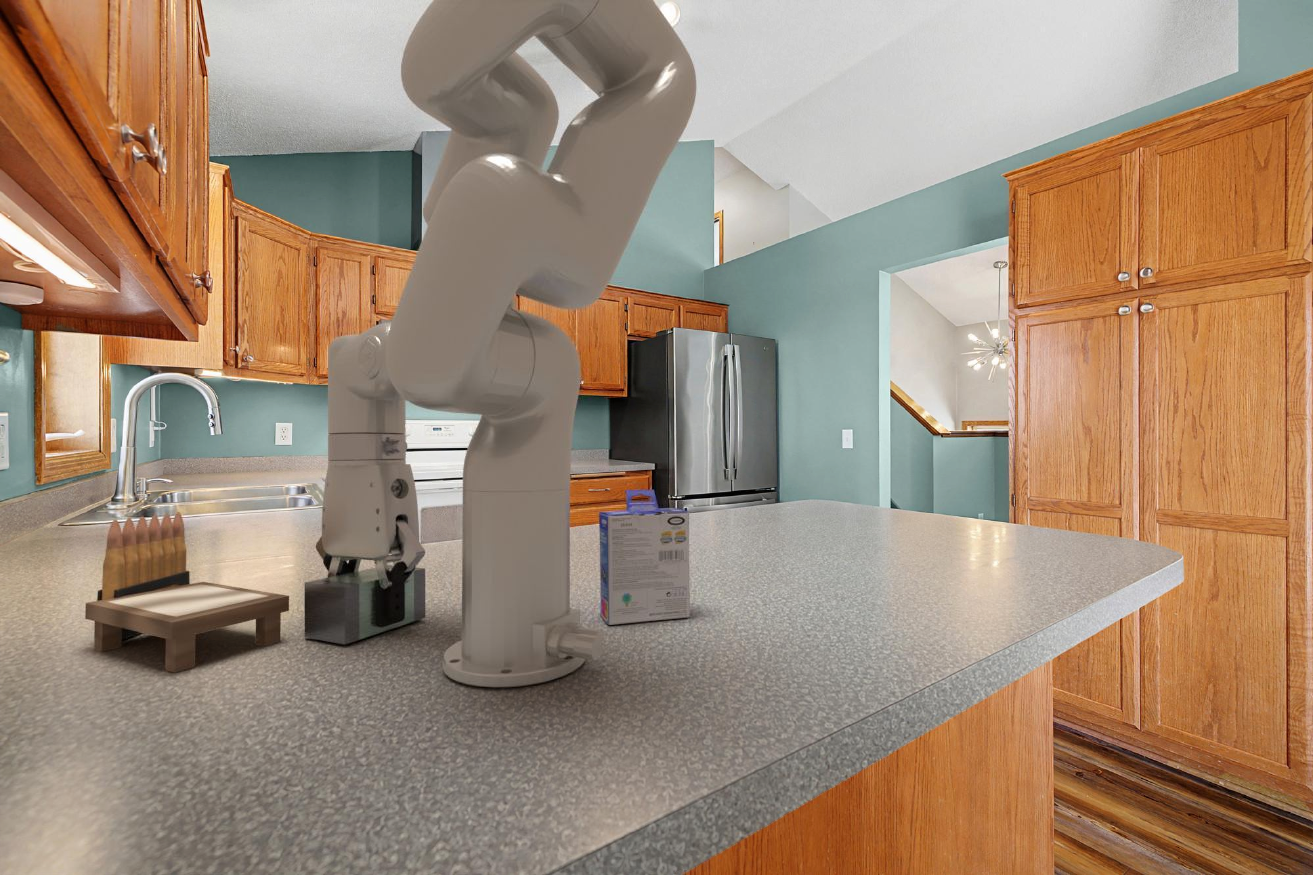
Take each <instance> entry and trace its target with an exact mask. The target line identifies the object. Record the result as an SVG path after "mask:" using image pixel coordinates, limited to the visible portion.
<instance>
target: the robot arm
mask: <svg viewBox="0 0 1313 875" xmlns="http://www.w3.org/2000/svg"><path fill="white" fill-rule="evenodd" d="M533 37H535V39H537V41H539V42H541V44H542V45H543V46H544V47H545V48H546V49H547V50H549V51H550V53H552V54H553V55H554V56H555V58H557V59H558V60H559V61H560V62H561V63H562V64H563V65H564V66H565V67H566V68H568V69H569V71H571V73H573V74H574V76H576V77H578V79H579V80H580V81H581V82H582V83H584V84H585V86H587V87H588V88H589V89H590V90H591V91H592V92H593V93H595V95H597V97H598V98H597V99H595V100H594V101H591V102H590V103H588V104H587V105H586V106H585V107H584V108H583V109H581V111H579V112H578V113H577V115H576V116H574V118H572V120H571V121H570V122H569V124H568V125H567V127H566V128H565V130H564V131H563V133H562V136H561V138H560V139H559V143H558V146H557V148H556V150H555V153H554V155H553V157H552V159H551V162H550V164H549V166H548V168H547V169H546V171H545V170H544V169H542V168H543V165H544V162H545V161H546V157H547V155H548V153H549V150H550V147H551V145H552V142H553V141H554V140H553V139H554V138H555V135H556V132H557V128H558V126H559V119H560V110H559V105H558V104H559V103H558V101H557V99H556V96H555V93H554V92H553V90H552V87H551V86H550V85H549V84H548V82H547V81H546V80H545V79H544V78H543V77H542V75H541V74H540V73H539V72H538V71H537V70H536V69H535V68H534V67H533V66H532V65H531V64H530V63H529V62H528V61H527V60H526V59H525V58H523V57H522V56H521V55H520V54H519V53H518V52H517V50H518V49H520V47H522V46H523V45H524V44H526V42H528V41H529V40H530V39H532V38H533ZM696 74H697V73H696V70H695V66H694V63H693V60H692V58H691V56H690V54H689V52H688V50H687V48H686V46H685V45H684V43H683V41H682V40H681V38H680V37H679V35H678V33H677V32H676V31H675V30H674V28H673V27H672V25H671V23H670V22H669V21H668V19H667V18H666V16H665V15H664V13H663V12H662V11H661V9H660V8H659V6H658V5H657V3H656V2H655V1H654V0H432V2H430V4H429V5H428V6H427V8H426V9H425V11H423V14H422V15H421V16H420V18H419V19H418V21H417V22H416V24H415V25H414V28H413V29H412V31H411V33H410V35H409V37H408V40H407V42H406V45H405V48H404V50H403V54H402V58H401V65H400V78H401V83H402V87H403V90H404V92H405V93H406V96H407V98H408V99H409V100H410V101H411V103H412V104H413V105H415V106H416V107H417V108H418V109H419V110H420V111H422V112H424V113H425V114H427V115H429V116H430V117H431V118H433V119H434V120H437V121H438V122H440V123H441V124H443V125H444V126H446V127H448V128H449V129H450V132H449V136H448V138H447V141H446V143H445V144H446V145H445V147H444V150H443V152H442V155H441V158H440V160H439V164H438V166H437V169H436V172H435V174H434V176H433V180H432V182H431V185H430V189H429V191H428V193H427V196H426V198H425V202H424V203H423V207H422V215H423V219H424V222H425V223H426V225H427V227H426V230H425V233H424V235H423V238H422V241H421V243H420V245H419V248H418V250H417V253H416V255H415V258H414V262H413V264H412V265H411V269H410V271H409V273H408V277H407V279H406V282H405V285H404V288H403V290H402V292H401V296H400V297H399V301H398V303H397V306H396V309H395V310H394V314H393V317H392V320H391V322H382V323H378V324H376V325H373V326H371V327H370V328H368V329H367V330H365V331H363V332H361V333H360V334H359V333H358V334H356V333H355V334H346V335H345V334H344V335H341V336H337V337H336V338H334V339H333V340H332V341H331V342H330V344H329V346H328V351H327V417H328V418H327V434H328V435H327V470H326V474H325V475H326V476H325V482H324V488H323V497H322V498H323V499H322V509H321V510H322V511H321V512H322V513H321V536H320V537H319V539H318V540H317V542H316V544H315V550H316V551H317V553H318V555H319V556H320V558H321V559H322V562H323V566H324V567H325V570H327V578H328V577H333V576H338V575H342V574H347V573H352V572H357V571H359V570H360V566H361V562H362V560H365V561H373V563H374V566H375V567H374V568H376V571H377V575H378V578H379V582H380V585H381V587H380V588H376V626H377V627H381V628H382V627H386V626H389V625H392V624H395V623H398V622H401V621H403V620H404V618H405V583H408V582H409V579H410V577H409V576H410V575H411V574H412V572H413V571H414V570H415V568H417V565H418V564H419V563H420V561H422V559H423V558H424V557H425V555H426V550H425V548H424V547H423V545H422V543H421V542H420V520H419V508H418V495H417V491H416V483H415V479H414V474H413V470H412V466H411V464H410V463H408V464H407V459H406V458H407V456H406V455H407V450H408V443H407V441H406V440H407V437H406V436H407V435H406V430H407V429H406V424H407V423H406V419H407V418H406V402H409V403H410V404H412V405H414V406H417V407H419V408H422V409H426V410H431V411H437V412H446V413H454V414H468V415H469V414H470V415H480V419H479V422H478V424H477V426H476V428H475V430H474V432H473V434H472V437H471V439H470V441H469V444H468V446H467V450H466V452H465V457H464V461H463V467H462V468H463V470H462V505H461V506H462V507H461V508H462V512H461V513H462V514H461V515H462V518H461V519H462V522H461V523H462V529H461V531H462V533H461V534H462V535H461V537H462V538H461V539H462V540H461V542H462V543H461V544H462V545H461V547H462V548H461V569H462V570H461V640H459V641H457V642H456V643H454V644H452V645H451V646H450V647H448V648H447V649H446V650H445V651H444V653H443V656H442V667H441V668H442V670H443V673H444V675H446V676H447V677H448V678H449V679H451V680H453V681H455V682H457V683H462V684H465V685H469V686H473V687H474V686H475V687H480V688H481V687H484V688H512V687H513V688H514V687H523V686H532V685H535V684H536V685H537V684H541V683H546V682H549V681H553V680H555V679H558V678H559V679H560V678H562V677H564V676H566V675H568V674H570V673H573V672H574V671H576V670H578V669H579V668H580V667H581V666H582V665H583V664H584V663H585V661H586V660H591V661H597V660H599V659H600V658H601V656H602V654H603V651H604V641H605V631H604V629H602V628H595V627H583V625H582V623H581V609H579V608H573V607H572V608H571V604H570V603H571V595H570V594H571V588H570V587H571V585H570V584H571V573H570V572H571V560H570V559H571V549H570V548H571V519H570V518H571V506H570V505H571V462H572V457H571V456H572V453H571V452H572V440H573V439H572V438H573V437H572V436H573V429H574V422H575V415H576V414H575V413H576V409H577V404H578V399H579V392H580V388H581V387H580V386H581V381H582V380H581V379H582V372H581V371H582V370H581V369H582V368H581V366H582V365H581V360H580V355H579V353H578V349H577V348H576V346H575V344H574V342H573V341H572V339H571V338H570V336H569V335H568V334H567V333H566V332H565V331H564V330H563V329H562V328H560V327H559V326H558V325H556V324H554V323H553V322H551V321H550V320H547V319H545V318H544V317H541V316H538V315H536V314H532V313H530V312H527V311H523V310H520V309H517V308H516V297H515V296H517V295H518V296H520V297H523V298H525V299H529V300H532V301H535V302H537V303H541V304H543V305H548V306H550V307H554V308H557V309H561V310H562V309H563V310H569V311H572V310H573V311H576V310H577V311H578V310H583V309H585V308H588V307H590V306H592V305H593V304H594V303H596V302H597V301H598V300H599V299H600V298H601V296H602V295H603V293H604V292H605V290H606V288H607V287H608V285H609V283H610V282H611V280H612V277H613V275H614V273H615V272H616V269H617V267H618V265H619V263H620V260H621V258H622V256H623V254H624V252H625V249H626V248H627V246H628V244H629V241H630V239H631V237H632V235H633V233H634V230H635V228H636V227H637V224H638V222H639V220H640V219H641V218H640V217H641V215H643V212H644V209H645V207H646V206H647V203H648V201H649V198H650V195H651V193H652V190H653V188H654V186H655V184H656V182H657V181H658V177H659V176H660V174H661V172H662V170H663V168H664V167H665V164H666V163H667V161H668V160H669V157H670V156H671V154H672V153H673V151H674V150H675V147H676V145H677V144H678V142H679V141H680V139H681V137H682V135H683V134H684V132H685V130H686V127H687V126H688V123H689V120H690V118H691V116H692V113H693V110H694V107H695V103H696V96H697V75H696ZM347 561H348V562H347ZM391 563H393V566H394V567H393V568H392V570H391V571H389V567H388V565H389V564H391Z"/></svg>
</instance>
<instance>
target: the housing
mask: <svg viewBox="0 0 1313 875" xmlns="http://www.w3.org/2000/svg"><path fill="white" fill-rule="evenodd" d="M388 567H389V571H391V570H392V568H393V567H394V564H393V565H390V564H388ZM409 577H410V579H409V582H408V583H405V618H404V620H403V621H401V622H398V623H395V624H392V625H389V626H386V627H382V628H381V627H377V626H376V588H380V587H381V585H380V582H379V578H378V575H377V571H376V567H370V568H366V569H362V570H358V571H357V572H352V573H347V574H342V575H338V576H333V577H328V576H327V577H325V578H324V577H323V578H319V579H315V580H311V581H306V582H304V638H307V639H312V640H318V641H323V642H329V643H334V644H340V645H347V644H350V643H353V642H354V643H355V642H357V641H359V640H362V639H365V638H368V637H372V636H375V635H378V634H380V633H384V632H386V631H389V630H391V629H392V630H393V629H395V628H398V627H403V626H404V625H407V624H411V623H414V622H416V621H419V620H422V619H425V618H426V568H425V567H424V568H423V567H416V568H415V570H414V571H413V572H412V574H411V575H410V576H409Z"/></svg>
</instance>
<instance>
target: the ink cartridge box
mask: <svg viewBox="0 0 1313 875" xmlns="http://www.w3.org/2000/svg"><path fill="white" fill-rule="evenodd" d="M624 492H625V503H626V509H625V510H609V511H605V510H604V511H599V512H598V521H599V522H598V523H599V530H598V531H599V569H600V570H599V571H600V572H599V574H600V575H599V577H600V579H599V580H600V583H599V584H600V590H599V592H600V594H599V595H600V598H599V599H600V606H599V607H600V608H599V609H600V612H599V614H600V616H601V618H602V620H604V621H605V623H606V625H608V626H609V625H610V626H613V625H614V626H615V625H622V624H632V623H634V624H635V623H644V622H650V621H663V620H673V619H674V620H675V619H685V618H689V617H690V616H691V610H690V609H691V604H690V603H691V597H690V596H691V592H690V589H691V588H690V512H689V511H688V510H684V509H680V508H677V507H666V508H659V505H658V502H657V497H656V494H655V489H626V490H625V491H624ZM637 496H645V497H649V498H650V500H648V501H647V500H642V501H641V500H640V501H636V500H635V501H633V500H632V498H634V497H637Z"/></svg>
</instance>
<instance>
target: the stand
mask: <svg viewBox="0 0 1313 875" xmlns="http://www.w3.org/2000/svg"><path fill="white" fill-rule="evenodd" d="M289 611H290V595H286V594H281V593H280V594H279V593H275V592H274V593H273V592H268V591H262V590H255V589H249V588H244V587H238V586H237V587H236V586H231V585H226V584H219V583H213V582H207V581H201V582H200V581H199V582H194V583H190V584H188V585H182V586H177V587H171V588H166V589H160V590H155V591H149V592H144V593H138V594H133V595H127V596H122V597H119V598H111V599H105V600H100V601H97V600H96V601H90V602H85V615H84V618H85V620H89V621H93V622H94V627H93V628H94V632H93V633H94V635H93V636H94V637H93V638H94V639H93V649H94V651H98V652H106V651H110V650H114V649H119V648H122V645H123V644H122V642H123V640H122V628H125V629H129V630H133V631H137V632H141V633H140V634H146V635H150V636H154V637H158V638H161V639H165V671H168V672H170V673H174V674H175V673H179V672H182V671H186V670H189V669H192V668H195V667H196V635H198V634H201V633H202V634H203V633H206V632H210V631H214V630H218V629H222V628H226V627H229V626H230V627H231V626H234V625H238V624H242V623H246V622H249V621H255V645H258V646H262V647H267V646H271V645H273V644H277V643H280V642H281V630H282V629H281V626H282V624H281V623H282V622H281V619H282V613H285V612H289Z"/></svg>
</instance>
